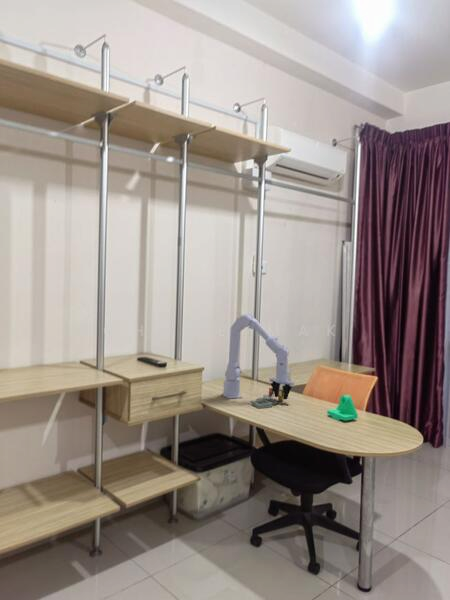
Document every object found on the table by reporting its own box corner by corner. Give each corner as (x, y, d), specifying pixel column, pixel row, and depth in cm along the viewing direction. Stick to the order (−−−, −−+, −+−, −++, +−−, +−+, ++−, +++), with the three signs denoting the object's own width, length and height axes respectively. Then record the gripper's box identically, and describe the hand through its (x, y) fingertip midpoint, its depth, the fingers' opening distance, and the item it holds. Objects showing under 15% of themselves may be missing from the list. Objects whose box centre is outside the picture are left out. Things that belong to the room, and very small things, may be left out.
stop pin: (277, 400, 247) (277, 389, 247) (282, 400, 248) (282, 388, 248) (279, 402, 245) (280, 390, 244) (284, 401, 246) (285, 390, 246)
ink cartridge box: (275, 388, 274) (276, 362, 273) (283, 387, 276) (283, 362, 275) (282, 392, 266) (283, 365, 265) (290, 391, 268) (291, 365, 267)
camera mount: (326, 415, 223) (327, 393, 223) (338, 413, 227) (339, 392, 227) (344, 423, 213) (345, 400, 213) (357, 420, 217) (358, 398, 216)
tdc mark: (280, 404, 240) (280, 403, 240) (280, 403, 241) (280, 403, 241) (288, 405, 239) (288, 404, 239) (288, 404, 240) (288, 404, 240)
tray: (251, 404, 239) (252, 400, 239) (264, 403, 242) (265, 399, 241) (258, 408, 232) (258, 404, 232) (271, 407, 235) (271, 403, 235)
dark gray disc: (252, 400, 246) (252, 398, 246) (271, 398, 251) (271, 396, 251) (262, 406, 236) (262, 404, 236) (281, 404, 241) (282, 402, 241)
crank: (269, 401, 241) (269, 392, 241) (262, 400, 242) (262, 391, 242) (275, 396, 251) (275, 388, 250) (268, 395, 252) (268, 387, 252)
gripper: (265, 370, 248) (265, 396, 249) (288, 374, 238) (287, 402, 239) (274, 368, 253) (274, 394, 254) (297, 373, 243) (296, 399, 243)
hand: (281, 397), depth 247 cm, fingers open, 5 cm apart
